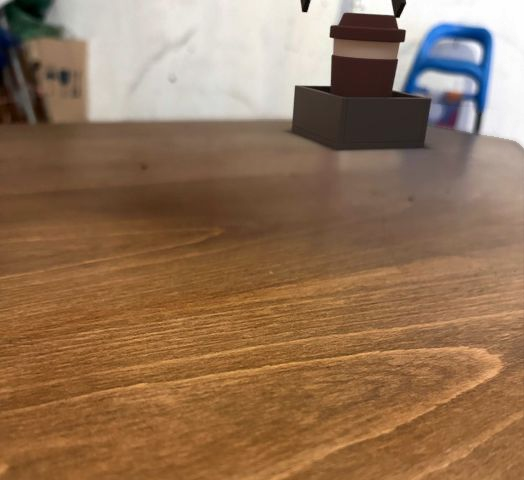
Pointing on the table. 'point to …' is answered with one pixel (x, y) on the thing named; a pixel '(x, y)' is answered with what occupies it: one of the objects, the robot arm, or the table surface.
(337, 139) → the basket
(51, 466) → the table surface
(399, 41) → the coffee cup
